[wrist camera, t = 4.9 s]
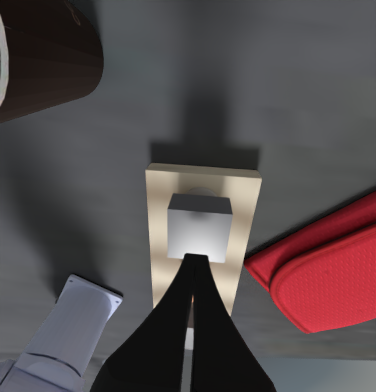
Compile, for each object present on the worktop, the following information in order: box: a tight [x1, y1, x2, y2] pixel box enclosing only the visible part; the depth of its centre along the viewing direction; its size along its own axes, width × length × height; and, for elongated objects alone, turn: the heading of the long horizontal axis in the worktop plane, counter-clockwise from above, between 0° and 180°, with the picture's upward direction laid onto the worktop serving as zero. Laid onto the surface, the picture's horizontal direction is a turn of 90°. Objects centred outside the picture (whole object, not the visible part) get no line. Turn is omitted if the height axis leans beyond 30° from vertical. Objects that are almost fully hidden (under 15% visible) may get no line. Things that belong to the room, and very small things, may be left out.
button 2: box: [167, 193, 233, 263], centre depth 16 cm, size 4×4×2 cm
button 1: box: [185, 307, 193, 350], centre depth 24 cm, size 4×4×2 cm
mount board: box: [146, 163, 262, 316], centre depth 23 cm, size 22×10×3 cm, turn 178°
